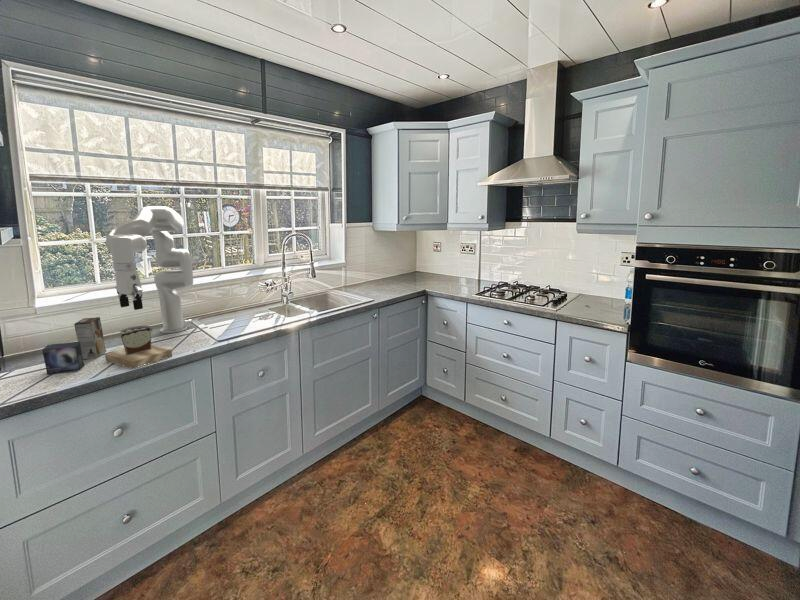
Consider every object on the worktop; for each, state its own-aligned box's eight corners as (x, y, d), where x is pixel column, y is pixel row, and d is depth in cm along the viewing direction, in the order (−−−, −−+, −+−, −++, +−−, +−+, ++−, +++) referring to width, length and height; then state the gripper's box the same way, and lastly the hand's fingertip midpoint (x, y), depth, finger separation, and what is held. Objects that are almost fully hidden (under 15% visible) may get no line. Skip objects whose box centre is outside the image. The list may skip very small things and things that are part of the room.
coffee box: (89, 352, 179) (83, 318, 175) (106, 351, 180) (100, 316, 177) (80, 359, 170) (73, 323, 166) (98, 358, 172) (91, 322, 168)
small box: (46, 375, 154) (40, 349, 152) (52, 369, 160) (47, 344, 158) (80, 370, 158) (75, 345, 156) (85, 365, 164) (80, 340, 162)
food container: (148, 345, 178) (144, 323, 176) (155, 348, 175) (151, 326, 173) (116, 353, 168) (112, 330, 166) (123, 356, 165) (119, 333, 163)
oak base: (145, 349, 183) (144, 342, 182) (172, 356, 173) (171, 349, 173) (106, 360, 169) (105, 353, 168) (133, 368, 160) (132, 361, 159)
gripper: (147, 267, 162) (153, 308, 166) (123, 264, 170) (129, 303, 174) (127, 269, 155) (134, 312, 159) (103, 266, 163) (110, 307, 167)
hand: (131, 307), depth 166 cm, fingers open, 9 cm apart
